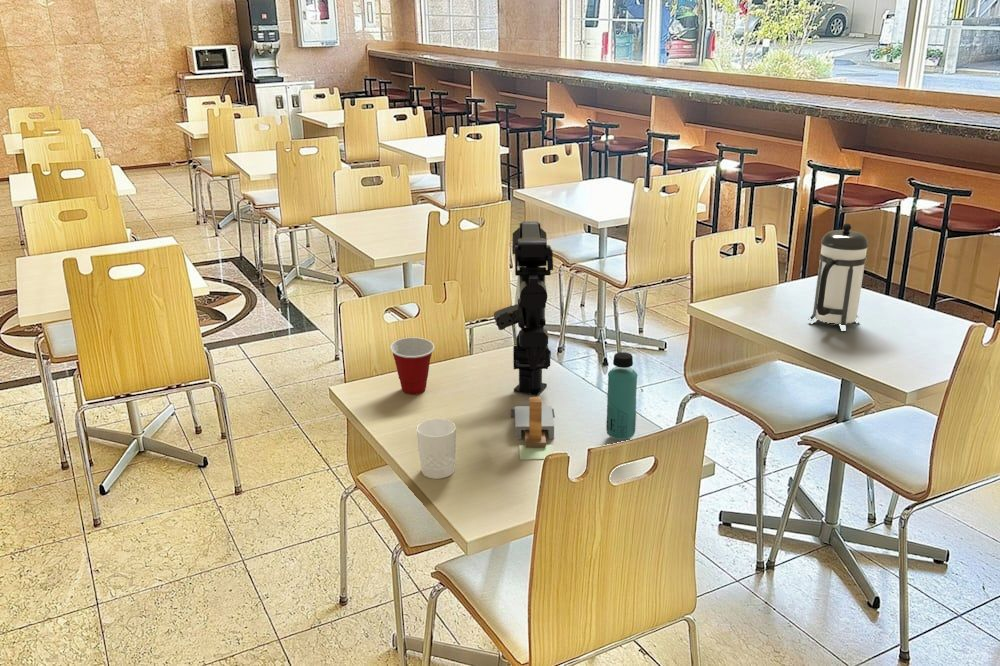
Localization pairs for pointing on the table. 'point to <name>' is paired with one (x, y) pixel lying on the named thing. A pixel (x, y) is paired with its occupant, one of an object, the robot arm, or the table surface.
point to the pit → (514, 413)
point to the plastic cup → (412, 362)
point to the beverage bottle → (621, 397)
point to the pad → (534, 452)
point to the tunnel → (523, 420)
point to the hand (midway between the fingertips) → (532, 361)
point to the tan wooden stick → (535, 424)
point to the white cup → (437, 447)
